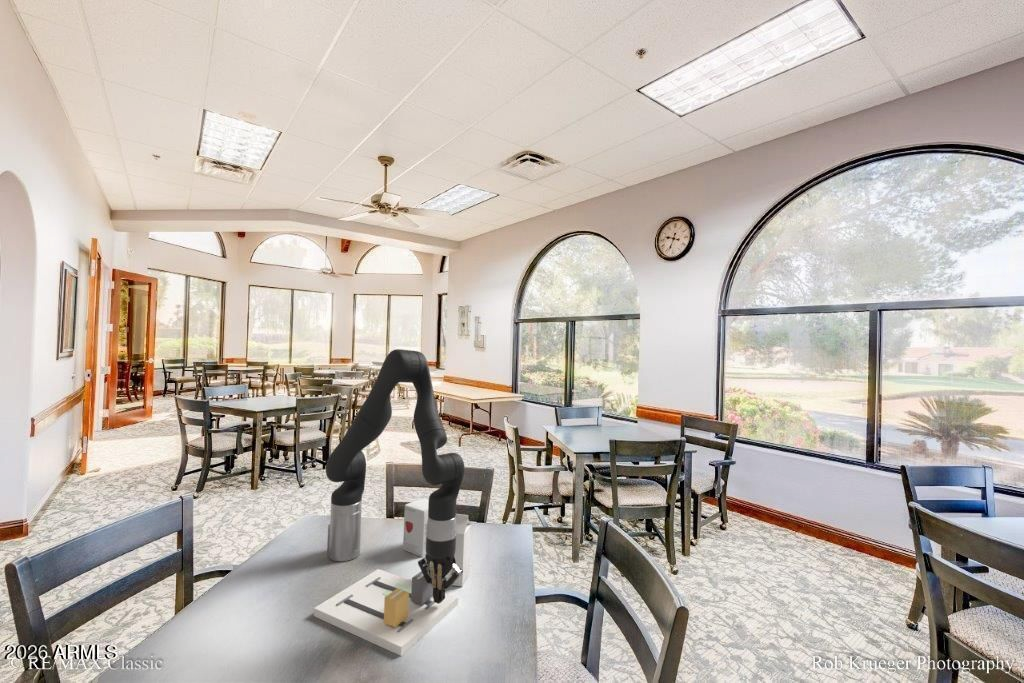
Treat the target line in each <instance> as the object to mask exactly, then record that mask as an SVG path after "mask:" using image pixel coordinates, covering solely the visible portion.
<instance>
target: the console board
mask: <svg viewBox="0 0 1024 683" xmlns="http://www.w3.org/2000/svg"><path fill="white" fill-rule="evenodd" d="M397 588H399V589H401V590H404V591H407V592H409V603H408V618H406V619H405V620H404V621H403V622H401V623H400V624H399V625H398V626H396V627H393V626H390V625H388V624H386V623H384V601H385V597H386V596H387V595H389V594H390V593H391V592H393V591H394V590H396V589H397ZM411 591H412V579H408V578H405V577H402V576H400V575H396V574H393V573H390V572H387V571H385V570H382V569H379V568H378V569H376V570H374V571H373V572H370V573H369V574H368V575H367V576H364V577H363V578H360V579H359V580H357V581H356V582H355V583H353V584H351V585H349V586H348V587H346V588H344V589H343V590H342V591H340V592H338V593H337V594H335V595H333V596H331V597H330V598H329V599H327V600H325V601H323V602H322V603H320V604H318V605H316V606H315V607H314V608H313V617H315V618H318V619H319V620H322V621H324V622H326V623H327V624H330V625H333V626H335V627H337V628H339V629H340V630H343V631H345V632H348V633H350V634H352V635H354V636H357V637H359V638H361V639H363V640H365V641H368V642H370V643H372V644H374V645H376V646H379V647H380V648H382V649H385V650H386V651H389V652H391V653H393V654H396V655H398V656H400V657H402V656H403V655H404V654H405V653H406V652H407V651H409V650H410V649H411V648H412V647H414V646H415V645H416V644H417V642H419V641H420V640H421V639H422V638H423V637H424V636H425V635H427V633H428V632H430V631H431V630H432V629H433V628H434V627H435V626H436V625H437V624H439V623H440V621H442V620H443V619H444V618H445V617H446V616H447V615H449V613H450V612H452V611H453V610H454V609H455V608H456V607H457V606H458V605H459V597H458V596H455V595H453V594H450V593H449V592H448V593H447V592H445V599H444V600H443V601H442V602H441V603H440V604H438V603H436V602H434V599H433V597H432V598H430V599H429V600H428V601H427V602H425V603H424V604H423V605H420V604H417V603H415V602H412V601H411Z"/></svg>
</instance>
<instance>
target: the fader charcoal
mask: <svg viewBox="0 0 1024 683" xmlns="http://www.w3.org/2000/svg"><path fill="white" fill-rule="evenodd" d="M428 574H429V572H428ZM429 576H430V574H429ZM411 581H412V591H411V601H412V602H415V603H417V604H420V605H423V604H424V603H425V602H427V601H428V600H429V599H430V598H432V597H433V587H432V584H431V583H427V581H426V579H425V577H424V575H423V573H422V571H421V570H420V572H418V573H417V574H415V575H414V576H412V577H411Z"/></svg>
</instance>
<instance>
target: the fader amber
mask: <svg viewBox="0 0 1024 683" xmlns="http://www.w3.org/2000/svg"><path fill="white" fill-rule="evenodd" d="M408 603H409V592H407V591H404V590H401V589H399V588H397V589H396V590H394V591H393V592H391V593H390V594H389V595H387V596H386V597H385V601H384V623H386V624H388V625H390V626H393V627H396V626H398V625H399V624H400V623H401V622H403V621H404V620H405V619H406V618H408Z"/></svg>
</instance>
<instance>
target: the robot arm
mask: <svg viewBox="0 0 1024 683" xmlns="http://www.w3.org/2000/svg"><path fill="white" fill-rule="evenodd" d="M430 371H431V370H430V367H429V363H428V360H427V357H426V356H425V354H424V353H423V352H420V351H418V350H409V349H401V348H397V349H393V350H391V351H390V352H389V353H388V354H387V355H386V357H385V359H384V361H383V362H382V365H381V368H380V370H379V372H378V374H377V377H376V380H375V382H374V384H373V386H372V388H371V389H370V391H369V393H368V395H367V397H366V398H365V401H364V402H363V403H362V405H361V407H360V409H358V412H357V414H356V415H355V417H354V420H353V421H352V423H351V425H350V426H349V428H347V431H346V432H345V434H344V436H343V438H342V439H341V440H340V441H339V443H338V445H337V446H336V447H335V448H334V449H333V451H332V452H331V454H330V455H329V456H328V458H327V460H326V464H325V465H326V466H325V475H326V477H327V479H328V480H329V481H331V482H334V483H341V482H342V484H340V485H339V487H337V488H336V489H334V490H333V491H332V492H331V496H330V523H329V524H328V526H327V541H326V542H327V547H326V548H327V549H326V555H327V556H329V557H328V558H329V560H332V561H335V562H347V561H350V560H351V561H352V560H353V559H355V558H357V557H359V556H360V553H361V537H362V535H361V532H362V531H361V530H362V504H363V502H362V500H363V499H362V498H363V494H364V491H365V486H366V485H365V482H366V474H367V473H366V472H367V461H366V457H365V456H366V455H365V454H364V452H363V450H364V449H365V448H366V447H368V446H369V445H370V444H372V443H373V442H374V441H375V440H377V439H378V438H379V437H380V436H381V434H383V432H384V430H385V429H386V427H387V425H388V424H389V422H390V420H391V418H392V415H393V408H392V403H391V394H392V392H393V391H394V389H395V387H396V386H397V384H399V383H406V384H407V383H410V384H411V383H412V385H413V387H414V389H415V391H416V403H415V407H414V412H413V426H414V428H415V429H414V430H415V432H416V435H417V438H418V440H419V443H420V454H421V472H422V476H423V478H424V480H425V481H426V482H427V483H428V484H429V485H431V486H438V485H441V486H440V487H439V488H438V489H436V490H434V491H432V492H431V493H430V495H429V496H428V500H429V503H428V520H427V530H426V555H425V556H424V557H421V559H420V560H418V561H417V565H418V567H419V568H420V572H421V571H422V573H423V575H424V577H425V579H426V581H427V583H431V584H432V587H433V599H434V602H436V603H438V604H440V603H441V602H442V601H443V600H444V599H445V593H446V590H448V589H449V588H450V587H451V586H453V585H452V584H453V583H454V582H455V581H456V580H457V579H458V577H459V576H460V575H461V574H462V573H463V570H462V569H461V568H460V569H459V568H458V567H457V566H456V565H455V564H456V560H455V557H454V555H455V551H456V527H457V523H456V514H457V499H458V496H459V493H460V490H461V487H462V484H463V479H464V475H465V462H464V459H463V457H462V455H460V454H459V453H456V452H448V453H444V454H438V452H437V451H438V449H439V450H440V449H441V448H443V447H444V446H445V445H446V444H447V442H448V437H447V433H446V430H445V427H444V425H443V422H442V419H441V417H440V414H439V410H438V407H437V404H436V399H435V395H434V394H435V392H434V388H433V381H432V379H431V377H432V376H431V372H430ZM451 569H452V572H451V577H450V578H449V580H448V581H447V578H448V576H449V572H450V571H451ZM428 572H429V574H430V576H429V574H428Z"/></svg>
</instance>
